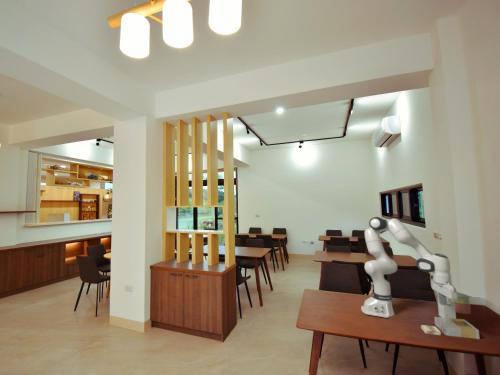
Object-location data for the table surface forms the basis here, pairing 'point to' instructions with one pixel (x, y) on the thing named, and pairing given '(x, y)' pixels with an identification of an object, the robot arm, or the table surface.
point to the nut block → (443, 300)
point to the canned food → (462, 304)
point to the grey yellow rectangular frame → (456, 327)
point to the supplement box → (447, 310)
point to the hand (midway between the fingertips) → (444, 301)
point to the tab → (430, 330)
